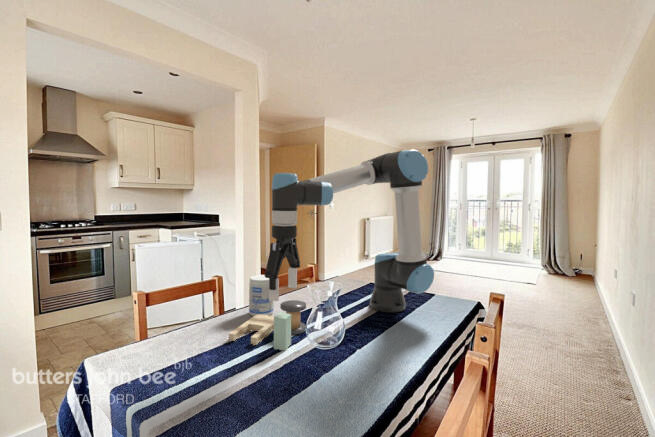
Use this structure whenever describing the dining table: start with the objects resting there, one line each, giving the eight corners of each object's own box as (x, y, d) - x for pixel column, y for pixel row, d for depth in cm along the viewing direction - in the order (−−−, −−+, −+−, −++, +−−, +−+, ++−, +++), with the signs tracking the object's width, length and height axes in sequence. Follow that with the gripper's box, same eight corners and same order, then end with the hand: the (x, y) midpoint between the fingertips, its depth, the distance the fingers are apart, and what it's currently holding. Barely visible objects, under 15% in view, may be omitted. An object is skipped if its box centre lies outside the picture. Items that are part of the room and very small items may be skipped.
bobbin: (286, 322, 117) (286, 299, 116) (309, 326, 114) (309, 301, 114) (275, 332, 108) (275, 307, 108) (300, 336, 106) (300, 310, 105)
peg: (279, 343, 101) (279, 312, 100) (291, 345, 100) (291, 314, 99) (273, 348, 97) (273, 317, 96) (285, 350, 96) (285, 318, 95)
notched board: (257, 320, 119) (257, 314, 119) (281, 323, 116) (281, 317, 116) (228, 341, 102) (228, 333, 101) (256, 345, 99) (256, 338, 99)
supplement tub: (251, 319, 120) (251, 281, 119) (247, 311, 129) (247, 275, 128) (276, 316, 124) (276, 279, 123) (270, 308, 132) (270, 273, 131)
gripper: (289, 221, 108) (288, 282, 110) (252, 227, 85) (252, 305, 86) (310, 222, 106) (309, 284, 108) (277, 228, 82) (277, 308, 84)
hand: (283, 293), depth 97 cm, fingers open, 13 cm apart
